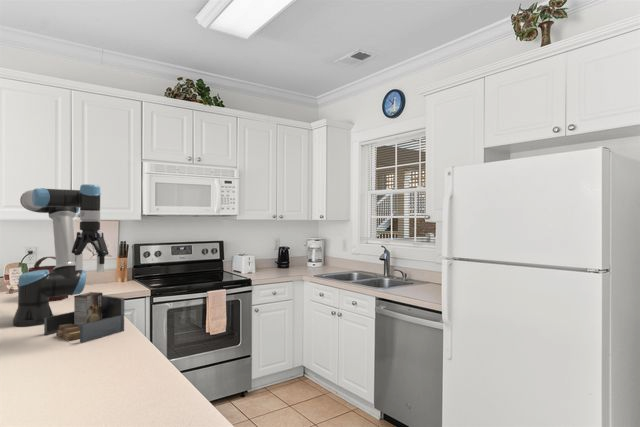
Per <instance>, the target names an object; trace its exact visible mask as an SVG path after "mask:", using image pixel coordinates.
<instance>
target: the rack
mask: <svg viewBox="0 0 640 427" xmlns="http://www.w3.org/2000/svg"><path fill="white" fill-rule="evenodd" d="M65 324H73V325H74V311H71V312H66V313H61V314H57V315H53V316H51V317H46V318H44V324H43V325H44V326H43V327H44V332H43V335H44V336H50V335H54V334H56V333H57V330H59V325H65ZM124 331H125V297H119V296H112V295H104V294H103V319H100V320H96V321H92V322H88V323H84V324H80V339H79V343H81V344H83V343H87V342H92V341H93V340H97V339H101V338H104V337H107V336H112V335H114V334H118V333H122V332H124Z"/></svg>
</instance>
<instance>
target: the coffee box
mask: <svg viewBox="0 0 640 427" xmlns="http://www.w3.org/2000/svg"><path fill="white" fill-rule="evenodd" d="M103 295H104V294H103V292H96V291H95V292H94V291H89V292H85V293H80V294H76V295H74V296H73V299H74V306H73V307H74V310H73V312H74V325H75V326H77V327H79V330H80V324H84V323H88V322H92V321H96V320H100V319H103Z"/></svg>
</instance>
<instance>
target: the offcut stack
mask: <svg viewBox="0 0 640 427" xmlns="http://www.w3.org/2000/svg"><path fill="white" fill-rule="evenodd" d="M55 334H56V335H55V336H56V337H58V338H61V339H62V340H65V341H67V342H72V341H77V340H80V330H79V327H77V326H75V325H73V324H65V325H59V330H57V333H55Z"/></svg>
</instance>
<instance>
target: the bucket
mask: <svg viewBox="0 0 640 427" xmlns="http://www.w3.org/2000/svg"><path fill="white" fill-rule="evenodd" d="M47 259H53V260H55V261H56V256H43V257H41V258H40V259H38V260H37V261H35V262H34V266H32V267H29V268H28V269H27V270H28V272H32V271H38V270H49V272H50V273H52V272H53V269H54V268H55V266H56V265H43V266H40V265H41V264H42V262H43V261H45V260H47ZM68 297H69V295H67V296H59V297H50V298H49V303H50V302H58V301H59V302H60V301H64V300H65V299H68Z"/></svg>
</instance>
